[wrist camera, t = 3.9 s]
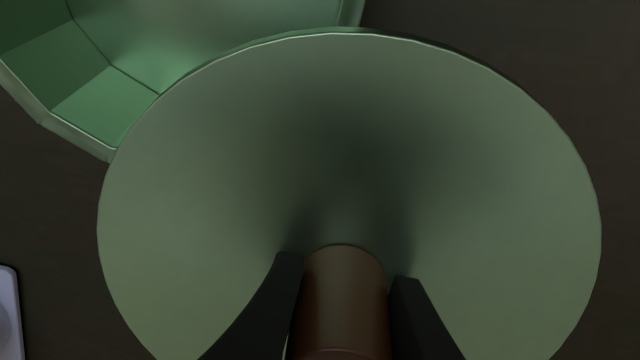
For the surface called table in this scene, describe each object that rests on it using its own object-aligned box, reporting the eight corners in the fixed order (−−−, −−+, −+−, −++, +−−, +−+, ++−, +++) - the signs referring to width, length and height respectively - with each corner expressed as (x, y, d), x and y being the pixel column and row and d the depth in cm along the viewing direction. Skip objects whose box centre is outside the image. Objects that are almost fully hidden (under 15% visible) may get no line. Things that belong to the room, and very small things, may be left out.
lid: (111, 364, 18) (41, 503, 14) (114, -41, 11) (-16, 2, 7) (481, 434, 19) (515, 585, 15) (687, 89, 12) (850, 193, 8)
